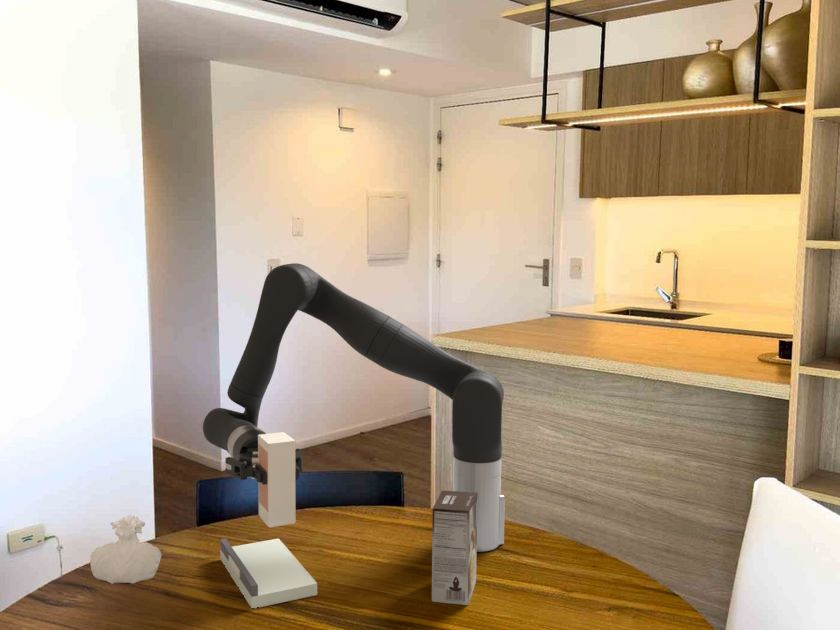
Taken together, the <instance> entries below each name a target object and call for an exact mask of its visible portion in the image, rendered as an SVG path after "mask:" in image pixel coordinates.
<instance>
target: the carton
mask: <svg viewBox="0 0 840 630" xmlns="http://www.w3.org/2000/svg"><path fill="white" fill-rule="evenodd" d="M295 449H296V440H295V439H294V438H292V436H290V435H289V434H287V433H286V432H284V431H281V432H280V431H279V432H272V433H271V432H270V433H266V434H261V435H258V463H259V466H262V467H263V468H264V469H265V470H266V472H267V484H265V485H262V484H261V483H260V482H257V483H258V517H259V519H261V520H262V521H263V523H264V524H265V525H266V526H267V527H268V528H276V527H281V526H286V525H293V524H296V522H297V521H296V520H297V519H296V517H297V516H296V480H295Z"/></svg>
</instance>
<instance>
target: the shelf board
mask: <svg viewBox="0 0 840 630" xmlns="http://www.w3.org/2000/svg"><path fill="white" fill-rule="evenodd" d="M219 543H220V545H219V547H220V548H219V551H220V553H219V554H220V556H219V557H220V561H221V562H222V565H225V566H224V567H225V569H226V570H227V572H228V574H229V573H230V574H229V575H230V577H231V578H232V580H233V581H234V583H235V584H236V586H237V588H238V587H239V588H238V589H239V590H240V593H241V594H242V596H243V595H244V596H243V597H244V598H245V600H246V602H247V604H248V605H249V607H250V606H251V607H250V608H251V609H252V608H254V609H258V608H257V607H259V608H264V607H267V606H272V605H277V604H282V603H285V602H292V601H295V600H299V599H300V600H301V599H305V598H310V597H314V596H318V582H317V581H316V580H315V579H314V578H313V576H311V574H310V573H309V572H308V571H307V570H306V568H305V567H304V566H303V565H302V563H300V562H299V560H298V559H297V558H296V557H295V556H294V554H293V553H292V552H291V551H290V550H289V549H288V547H287V546H286V545H285V544H284V542H283V541H282V540H280V538H274V539H273V538H272V539H268V540H262V541H257V542H251V543H246V544H238V545H233V546H232V545H231V544H230V543H229V541H228V539H227V538H221V539H219Z"/></svg>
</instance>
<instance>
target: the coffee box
mask: <svg viewBox="0 0 840 630" xmlns="http://www.w3.org/2000/svg"><path fill="white" fill-rule="evenodd" d="M440 492H441V493H440V494H439V496H438V498H437V499H436V501H435V503H434V505H433V507H432V528H431V529H432V530H431V531H432V534H431V536H432V537H431V541H432V543H431V545H432V547H431V602H434V603H441V604H453V605H462V606H469V604H470V601H471V599H472V595H473V592H474V589H475V586H476V582H477V556H478V555H477V499H478V493H474V492H459V491H453V490H442V491H440Z"/></svg>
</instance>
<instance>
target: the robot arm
mask: <svg viewBox="0 0 840 630" xmlns="http://www.w3.org/2000/svg"><path fill="white" fill-rule="evenodd" d="M257 307H258V308H257V311H256V316H255V318H254V321H253V325H252V329H251V332H250V335H249V338H248V340H247V343H246V346H245V349H244V351H243V353H242V355H241V358H240V360H239V362H238V365H237V367H236V369H235V371H234V374H233V376H232V378H231V380H230V384H228V388H227V397H228V399H230V400H231V402H233V403H234V404H236V405H238V406H240V407H242V408H243V409H244V411H243V412H240V411H235V410H233V409H232V410H231V409H227V408H224V407H217V408H213V409H212V410H210V411H209V412H208V413H207V414H206V416H205V418H204V419H203V422H202V432H203V435H204V438H205V439H206V441H207V442H208V443H210V444H211V445H213V446H215V447H217V448H219V449H222V450H224V451H226V452H227V453H228V455H230V456H227V457H225V458H224V459H225V473H226V474H228V475H230V476H232V477H234V478H237V479H239V480H241V481H242V480H243V481H245V480H247V479H248V478H249V477H250V478H251V479H252V480H254V481H256V482H257V483H258V482H260V483H261V484H262V485H265V484H267V472H266V470H265V469H264V468H263V467H262V466H259V463H258V435H261V434H267V433H266V431H264V430H262V428H259V427H258V422H259V414H260V410H261V405H262V402H263V399H264V396H265V393H266V391H267V389H268V386H269V384H270V382H271V380H272V377H273V375H274V371H275V370H276V364H277V359H278V355H279V349H280V346H281V343H282V341H283V337H284V334H285V333H286V331H287V328H288V327H289V325H290V323H291V321H292V320H293V317H294V316H295V315H296V313H297V312H298V311H299V312H301V313H304V314H306V315H308V316H310V317H313V318H314V319H316V320H319V321H320V322H322V323H324V324H325V325H327V326H328V327H330V328H331V329H332V330H334V332H336V334H338V335H339V336H340V338H342V339H343V340H344V341H345V342H346V343H347V344H348V345H349V346H350V348H352V349H353V350H354V351H356V352H357V353H358V354H359V355H361V356H363V357H364V358H365V359H368V360H369V361H371V362H373V363H375V364H376V365H378V366H379V367H381V368H383V369H385V370H387V371H390V372H391V373H394V374H397V375H400V376H403V377H405V378H409V379H412V380H414V381H415V380H416V381H419V382H421V383H424V384H427V385H429V386H431V387H432V388H434V389H436V390H438V392H440V393H442V394H444V395H445V396H446V397H448V398H449V399H451V400H452V410H451V411H452V412H451V414H452V415H451V418H452V419H451V423H452V424H451V425H452V426H451V440H452V447H453V449H452V450H453V458H452V459H453V461H452V462H453V463H452V491H459V492H474V493H478V499H477V552H478V553H479V552H480V553H481V552H488V551H493V550H495V549H497V548H498V547H499V546H501V545H504V543H505V512H506V510H505V508H506V507H505V506H506V498H505V497H506V496H505V495H504V494H502V493H501V492H502V456H503V455H502V452H503V445H502V424H503V423H502V419H503V415H502V414H503V403H504V398H505V397H504V396H505V392H504V388H503V386H502V383H501V381H500V380H499V379H498V378H497V377H496V376H495V375H493V374H492V373H490V372H489V371H487V370H484V369H481V368H479V367H477V366H475V365H473V364H470V363H469V362H467V361H464V360H462V359H460V358H457V357H455V356H454V355H451V354H450V353H448V352H446V351H444V350H443V349H441V348H440V347H439V346H437V345H436V344H434V343H433V342H432V341H430V340H429V339H427V338H426V337H424V336H422V335H421V334H419V333H417V332H416V331H415V330H413V329H412V328H409V326H407V325H405V324H403V323H402V322H400V321H398V320H396V319H395V318H393V317H391V316H390V315H389V314H386V313H384V312H383V311H380V310H378V309H377V308H375V307H374V306H373V307H372V305H369V304H367V303H365V302H363V301H361V300H359V299H357V298H355V297H353V296H350V295H348V294H347V293H345V292H344V291H342V290H340V289H339V287H336V286H335V285H334V284H332V283H331V282H330V281H328V280H327V279H326V278H324V277H323V276H321V275H320V274H318V273H317V272H316V271H314V270H313V268H310V267H309V266H307V265H306V264H305V265H304V264H301V263H298V262H297V263H296V262H295V263H287V264H281V265H277V266H276V267H274V268H273V269H271V270H270V271H268V274H267V275H266V276H265V280H264V283H263V286H262V290H261V295H260V298H259V303H258V306H257ZM303 459H304V457H303V453H302V449H301V448H295V481H297V480H298V478H300V475H301V474H300V473H301V472H303V470H304V469H303Z"/></svg>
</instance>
